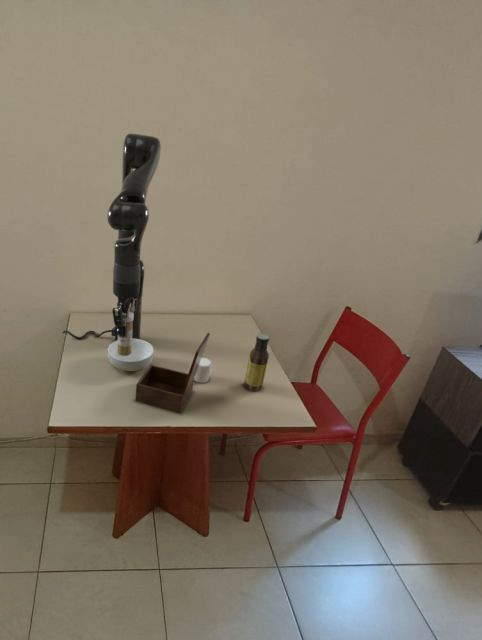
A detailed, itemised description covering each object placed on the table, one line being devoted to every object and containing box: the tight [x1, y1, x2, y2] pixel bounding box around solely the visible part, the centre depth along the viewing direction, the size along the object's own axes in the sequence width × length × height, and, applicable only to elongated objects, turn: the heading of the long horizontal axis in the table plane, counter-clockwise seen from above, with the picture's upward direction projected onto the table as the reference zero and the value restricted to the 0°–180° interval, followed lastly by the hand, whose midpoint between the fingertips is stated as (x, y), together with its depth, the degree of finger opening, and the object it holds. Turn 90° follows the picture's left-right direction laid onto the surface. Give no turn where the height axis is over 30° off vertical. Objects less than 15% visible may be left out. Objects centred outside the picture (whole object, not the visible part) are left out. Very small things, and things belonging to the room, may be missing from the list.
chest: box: [135, 364, 194, 414], centre depth 147 cm, size 15×13×7 cm
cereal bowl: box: [107, 338, 155, 372], centre depth 162 cm, size 17×17×7 cm
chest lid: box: [181, 332, 211, 396], centre depth 137 cm, size 16×13×1 cm
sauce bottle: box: [244, 333, 270, 392], centre depth 149 cm, size 6×6×20 cm
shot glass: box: [194, 356, 214, 384], centre depth 156 cm, size 7×7×7 cm
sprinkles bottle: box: [117, 311, 133, 356], centre depth 134 cm, size 5×5×13 cm
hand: (125, 332), depth 133 cm, fingers closed on sprinkles bottle, 4 cm apart
